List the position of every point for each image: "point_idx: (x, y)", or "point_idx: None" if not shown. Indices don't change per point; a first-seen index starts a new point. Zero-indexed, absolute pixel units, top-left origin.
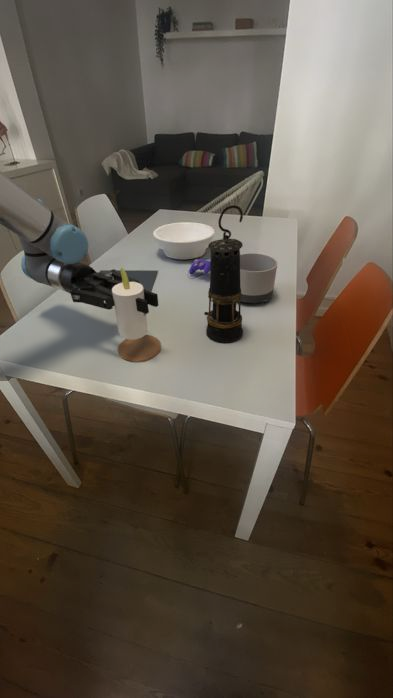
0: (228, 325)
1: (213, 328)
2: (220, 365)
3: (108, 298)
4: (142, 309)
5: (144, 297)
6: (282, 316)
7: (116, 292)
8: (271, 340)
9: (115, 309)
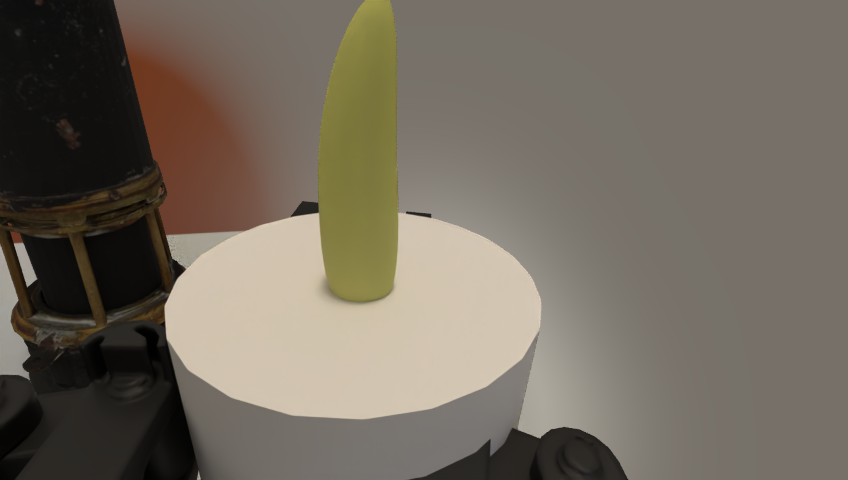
0: (183, 269)
1: None
2: None
3: (581, 435)
4: None
5: None
6: (24, 254)
7: (508, 309)
8: (176, 258)
9: None
